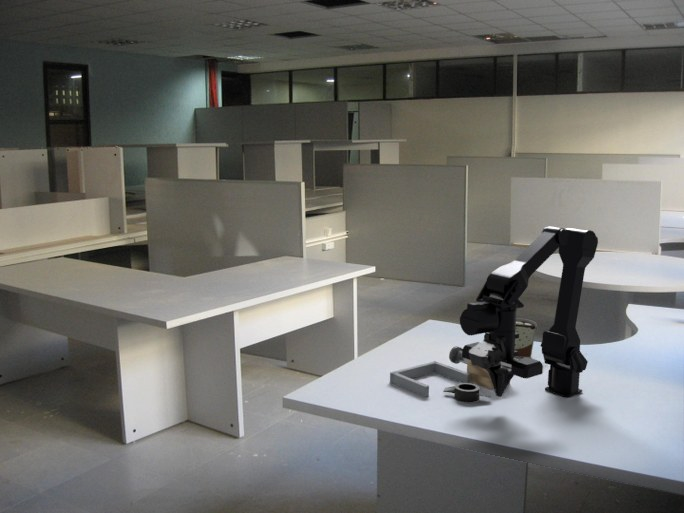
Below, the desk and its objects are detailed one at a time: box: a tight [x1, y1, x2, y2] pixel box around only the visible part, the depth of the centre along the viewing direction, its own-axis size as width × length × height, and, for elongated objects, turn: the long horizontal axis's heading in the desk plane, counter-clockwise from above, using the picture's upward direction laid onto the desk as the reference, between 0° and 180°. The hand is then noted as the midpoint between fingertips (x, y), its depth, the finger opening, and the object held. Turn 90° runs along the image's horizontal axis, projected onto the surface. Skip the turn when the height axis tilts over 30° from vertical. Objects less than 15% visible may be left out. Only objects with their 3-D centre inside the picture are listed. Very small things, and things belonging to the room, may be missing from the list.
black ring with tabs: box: [442, 382, 492, 403], centre depth 164 cm, size 8×10×3 cm
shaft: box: [448, 345, 467, 365], centre depth 178 cm, size 12×4×4 cm, turn 37°
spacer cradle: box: [389, 360, 471, 398], centre depth 174 cm, size 13×16×2 cm
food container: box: [514, 317, 539, 359], centre depth 198 cm, size 12×6×10 cm, turn 84°
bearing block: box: [466, 359, 511, 391], centre depth 174 cm, size 8×7×7 cm
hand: (499, 396), depth 156 cm, fingers closed
